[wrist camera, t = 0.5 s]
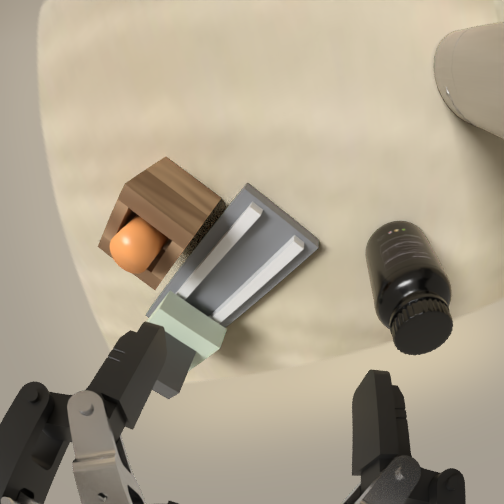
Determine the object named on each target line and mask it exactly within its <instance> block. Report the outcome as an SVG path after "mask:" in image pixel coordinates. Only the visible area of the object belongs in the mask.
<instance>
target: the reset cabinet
mask: <svg viewBox="0 0 504 504" xmlns="http://www.w3.org/2000/svg"><path fill="white" fill-rule="evenodd" d="M220 200H221V197H219V196H218V195H217V194H215V193H214V192H213V191H211V190H210V189H209V188H207V187H206V186H205V185H203V184H202V183H201V182H199V181H198V180H197V179H195V178H194V177H193V176H191V175H190V174H189V173H187V172H186V171H185V170H183V169H182V168H181V167H179V166H178V165H177V164H175V163H174V162H172V161H171V160H170V159H168V158H167V157H165V158H163V159H161V160H160V161H158V162H157V163H155V164H154V165H152V166H151V167H149V168H148V169H146V170H144V171H143V172H141V173H140V174H138V175H137V176H136V177H134V178H133V179H131V180H130V181H128V182H127V183H125V185H124V187H123V189H122V191H121V193H120V195H119V197H118V200H117V202H116V204H115V206H114V209H113V211H112V213H111V216H110V218H109V220H108V223H107V225H106V228H105V230H104V233H103V235H102V238H101V240H100V243H99V245H98V247H99V248H100V249H102V250H103V251H104V252H105V253H107V254H108V255H109V256H110V257H112V255H111V252H110V242H111V239H112V238H113V237H114V236H115V235H116V234H117V233H118V232H119V231H120V230H121V229H122V228H123V227H124V226H126V225H127V224H128V223H129V222H130V221H131V220H132V219H133V218H134V217H135V216H136V215H137V214H138V215H139V216H140V217H141V218H143V219H144V220H145V221H147V222H148V223H149V224H151V225H152V226H153V227H155V228H156V229H157V230H159V231H160V232H161V233H163V234H164V235H165V236H167V237H168V238H169V239H168V242H167V243H166V245H165V246H164V247H163V248H162V250H161V251H160V252H159V253H158V255H157V256H156V257H155V259H154V260H153V261H152V262H151V264H150V265H149V266H148V268H147V269H146V270H145V271H144V272H142V273H139V274H134V273H132V274H134V275H135V276H136V277H138V278H139V279H140V280H142V281H143V282H145V283H146V284H147V285H149V286H150V287H151V288H153V289H154V290H155V289H156V288H157V287H158V285H159V284H160V282H161V281H162V280H163V278H164V277H165V275H166V274H167V273H168V271H169V270H170V268H171V267H172V266H173V264H174V263H175V261H176V260H177V259H178V257H179V256H180V255H181V253H182V252H183V251H184V249H185V248H186V246H187V245H188V244H189V242H190V241H191V240H192V238H193V237H194V236H195V234H196V233H197V231H198V230H199V229H200V227H201V226H202V224H203V223H204V222H205V220H206V219H207V217H208V216H209V215H210V213H211V212H212V210H213V209H214V208H215V206H216V205H217V204H218V202H219V201H220ZM112 258H113V257H112Z"/></svg>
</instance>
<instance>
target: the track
mask: <svg viewBox="0 0 504 504" xmlns="http://www.w3.org/2000/svg"><path fill="white" fill-rule="evenodd" d="M318 248H319V240H318V239H317V238H316V237H315V236H314V235H312V234H311V233H310V232H309V231H307V230H306V229H305V228H304V227H303V226H301V225H300V224H299V223H298V222H296V221H295V220H294V219H293V218H292V217H290V216H289V215H288V214H287V213H285V212H284V211H283V210H282V209H280V208H279V207H278V206H277V205H275V204H274V203H273V202H272V201H270V200H269V199H268V198H267V197H265V196H264V195H263V194H261V193H260V192H259V191H258V190H256V189H255V188H254V187H252V186H251V185H250V184H249V183H247V184H246V185H245V186H244V187H243V188H242V190H241V191H240V192H239V193H238V195H237V196H236V197H235V198H234V199H233V201H232V202H231V203H230V204H229V206H228V207H227V208H226V209H225V211H224V212H223V213H222V214H221V216H220V217H219V218H218V219H217V221H216V222H215V223H214V224H213V226H212V227H211V228H210V229H209V231H208V232H207V233H206V235H205V236H204V237H203V238H202V240H201V241H200V242H199V243H198V245H197V246H196V247H195V249H194V250H193V251H192V253H191V254H190V255H189V256H188V258H187V259H186V260H185V262H184V263H183V264H182V266H181V267H180V268H179V270H178V271H177V272H176V273H175V275H174V276H173V277H172V279H171V280H170V281H169V283H168V284H167V285H166V287H165V288H164V290H163V291H162V292H161V294H160V295H159V296H158V298H157V299H156V300H155V302H154V303H153V304H152V306H151V307H150V309H149V310H148V312H147V313H146V316H147V317H148V318H149V317H150V316H151V315H152V313H153V312H154V311H155V309H156V308H157V307H158V306H159V304H160V303H161V302H162V300H163V299H164V298H165V296H166V295H167V294H168V293H169V291H172V292H173V293H174V294H176V295H177V296H179V297H180V298H182V299H183V300H184V301H186V302H187V303H189V304H190V305H192V306H193V307H195V308H196V309H197V310H199V311H200V312H202V313H203V314H205V315H206V316H208V317H209V318H211V319H212V320H214V321H215V322H217V323H218V324H220V325H221V326H223V327H224V328H226V327H227V326H228V325H229V324H231V323H232V322H233V321H234V320H235V319H237V318H238V317H239V316H240V315H242V314H243V313H244V312H245V311H246V310H247V309H249V308H250V307H251V306H252V305H253V304H255V303H256V302H257V301H258V300H259V299H260V298H262V297H263V296H264V295H265V294H266V293H268V292H269V291H270V290H271V289H272V288H273V287H275V286H276V285H277V284H278V283H279V282H280V281H281V280H283V279H284V278H285V277H286V276H287V275H288V274H290V273H291V272H292V271H293V270H294V269H295V268H296V267H298V266H299V265H300V264H301V263H302V262H303V261H304V260H306V259H307V258H308V257H309V256H310V255H311V254H312V253H313V252H315V251H316V250H317V249H318Z"/></svg>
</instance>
